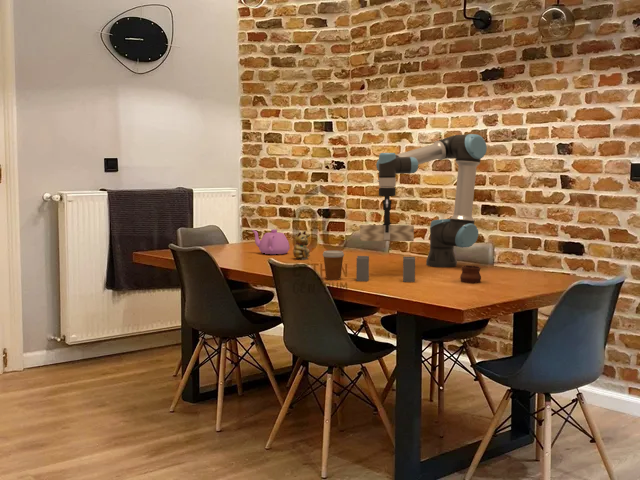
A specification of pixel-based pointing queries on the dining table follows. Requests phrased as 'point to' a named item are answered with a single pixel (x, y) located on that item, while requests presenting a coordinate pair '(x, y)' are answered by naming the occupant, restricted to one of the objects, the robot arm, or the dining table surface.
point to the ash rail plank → (378, 233)
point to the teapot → (272, 242)
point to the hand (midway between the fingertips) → (387, 239)
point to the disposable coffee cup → (333, 264)
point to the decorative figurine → (301, 246)
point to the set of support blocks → (363, 269)
